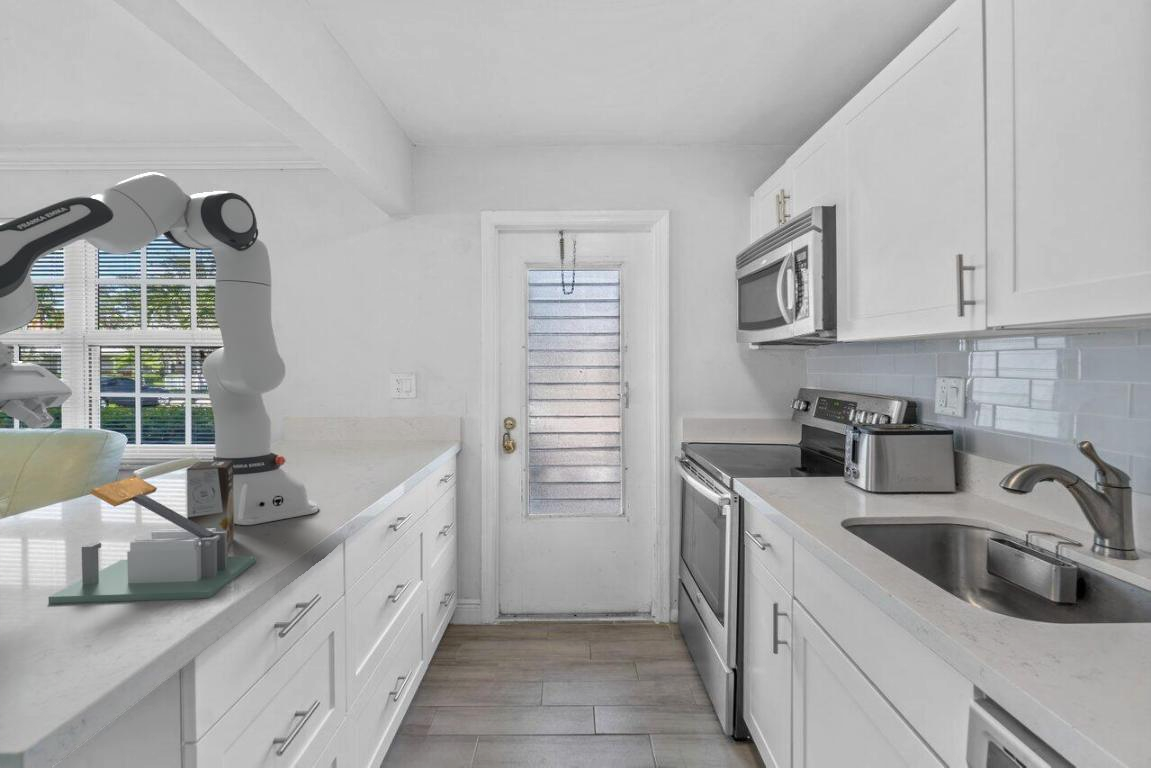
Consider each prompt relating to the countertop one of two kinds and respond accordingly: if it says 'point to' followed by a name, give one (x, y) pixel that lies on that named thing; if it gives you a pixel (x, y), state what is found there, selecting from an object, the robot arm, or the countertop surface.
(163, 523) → the countertop surface
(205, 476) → the coffee box
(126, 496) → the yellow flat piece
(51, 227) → the robot arm
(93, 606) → the countertop surface
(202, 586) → the heatsink board
